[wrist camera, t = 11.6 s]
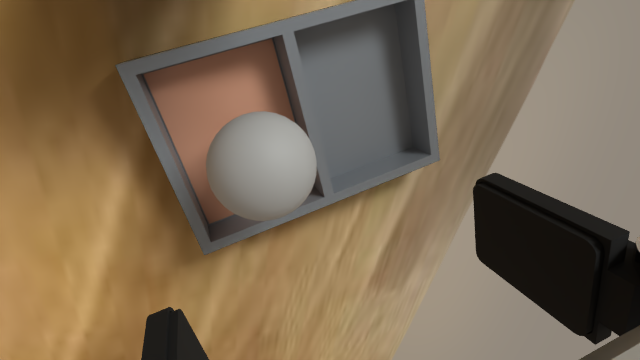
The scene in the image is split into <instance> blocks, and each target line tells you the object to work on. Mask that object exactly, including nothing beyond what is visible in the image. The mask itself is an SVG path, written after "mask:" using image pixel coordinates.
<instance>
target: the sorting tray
mask: <svg viewBox="0 0 640 360" xmlns="http://www.w3.org/2000/svg"><path fill="white" fill-rule="evenodd" d="M115 66H116V68H117V70H118V72H119V74H120V76H121V78H122V81H123V83H124V85H125V87H126V89H127V91H128V93H129V96H130V98H131V100H132V102H133V104H134V106H135V108H136V111H137V113H138V115H139V117H140V119H141V121H142V123H143V125H144V128H145V130H146V132H147V134H148V136H149V138H150V140H151V143H152V145H153V147H154V149H155V151H156V153H157V155H158V157H159V160H160V162H161V164H162V166H163V168H164V170H165V172H166V175H167V177H168V179H169V181H170V183H171V185H172V187H173V189H174V192H175V194H176V196H177V198H178V200H179V202H180V204H181V207H182V209H183V211H184V213H185V215H186V217H187V219H188V222H189V224H190V226H191V228H192V230H193V232H194V234H195V236H196V239H197V241H198V243H199V245H200V247H201V249H202V251H203V254H204V255H206V254H209V253H211V252H214V251H216V250H219V249H221V248H223V247H226V246H228V245H231V244H233V243H236V242H238V241H241V240H243V239H246V238H248V237H251V236H253V235H256V234H258V233H261V232H263V231H266V230H268V229H271V228H273V227H275V226H278V225H280V224H283V223H285V222H288V221H290V220H293V219H295V218H298V217H300V216H303V215H305V214H308V213H310V212H313V211H315V210H318V209H320V208H323V207H325V206H328V205H330V204H332V203H335V202H337V201H340V200H342V199H345V198H347V197H350V196H352V195H355V194H357V193H360V192H362V191H365V190H367V189H370V188H372V187H375V186H377V185H380V184H382V183H385V182H387V181H389V180H392V179H394V178H397V177H399V176H402V175H404V174H407V173H409V172H412V171H414V170H417V169H419V168H422V167H424V166H427V165H429V164H432V163H434V162H437V161H439V160H440V157H439V147H438V137H437V126H436V116H435V106H434V95H433V85H432V75H431V65H430V54H429V44H428V34H427V23H426V13H425V3H424V0H354V1H350V2H347V3H343V4H339V5H335V6H332V7H328V8H324V9H320V10H317V11H313V12H309V13H305V14H302V15H298V16H294V17H290V18H287V19H283V20H279V21H275V22H272V23H268V24H264V25H260V26H257V27H253V28H249V29H245V30H242V31H238V32H234V33H230V34H227V35H223V36H219V37H215V38H212V39H208V40H204V41H200V42H197V43H193V44H189V45H185V46H182V47H178V48H174V49H170V50H167V51H163V52H159V53H155V54H152V55H148V56H144V57H140V58H137V59H133V60H129V61H125V62H122V63H120V64H117V65H115ZM261 111H266V112H272V113H277V114H279V115H282V116H285V117H286V118H288V119H290V120H291V121H293V122H295V123H296V124H297V125H298V126H299V127H300V128H301V129H302V130H304V132H305V133H306V135H307V136H308V138H309V139H310V141H311V143H312V146H313V148H314V151H315V155H316V160H317V172H316V178H315V183H314V185H313V188H312V190H311V192H310V194H309V195H308V197H307V198H306V200H305V201H304V202H303V203H302V204H301V205H300V206H299V207H298V208H297V209H295V210H294V211H293V212H291V213H289V214H288V215H286V216H284V217H281V218H278V219H275V220H268V221H255V220H250V219H246V218H243V217H241V216H238V215H236V214H234V213H232V212H231V211H230V210H228V209H227V208H225V207H224V206H223V204H222V203H221V202H220V201H219V200H218V199H217V198H216V196H215V195H214V193H213V191H212V190H211V188H210V185H209V182H208V178H207V171H206V159H207V153H208V150H209V147H210V144H211V142H212V141H213V139H214V137H215V135H216V134H217V133H218V132H219V131H220V130H221V128H222V127H223V126H224V125H226V124H227V123H228V122H230V121H231V120H232V119H235V118H237V117H239V116H241V115H243V114H247V113H251V112H261Z"/></svg>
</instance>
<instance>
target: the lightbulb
mask: <svg viewBox="0 0 640 360" xmlns="http://www.w3.org/2000/svg"><path fill="white" fill-rule="evenodd" d="M206 171H207V178H208V182H209V185H210V188H211V190H212V191H213V193H214V195H215V196H216V198H217V199H218V200H219V201H220V202H221V203H222V204H223V206H224V207H225V208H227V209H228V210H230V211H231V212H232V213H234V214H236V215H238V216H241V217H243V218H246V219H250V220H255V221H268V220H275V219H278V218H281V217H284V216H286V215H288V214H289V213H291V212H293V211H294V210H295V209H297V208H298V207H299V206H300V205H301V204H302V203H303V202H304V201H305V200H306V198H307V197H308V195H309V194H310V192H311V190H312V188H313V185H314V183H315V178H316V172H317V160H316V155H315V151H314V148H313V146H312V143H311V141H310V139H309V138H308V136H307V135H306V133H305V132H304V130H302V129H301V128H300V127H299V126H298V125H297V124H296V123H295V122H293V121H291V120H290V119H288V118H286V117H285V116H282V115H279V114H277V113H272V112H266V111H261V112H251V113H247V114H243V115H241V116H239V117H237V118H235V119H232V120H231V121H230V122H228V123H227V124H226V125H224V126H223V127H222V128H221V130H220V131H219V132H218V133H217V134H216V135H215V137H214V139H213V141H212V142H211V144H210V147H209V150H208V153H207V159H206Z"/></svg>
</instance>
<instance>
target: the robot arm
mask: <svg viewBox="0 0 640 360" xmlns="http://www.w3.org/2000/svg"><path fill="white" fill-rule="evenodd" d="M473 199H474V219H475V239H476V254H477V256H478V258H479V260H480V261H481V262H482V263H484V264H485V265H486V266H487V267H489V268H490V269H491V270H493V271H494V272H495V273H496V274H498V275H499V276H500V277H502V278H503V279H504V280H506V281H507V282H508V283H510V284H511V285H512V286H514V287H515V288H516V289H517V290H519V291H520V292H521V293H523V294H524V295H525V296H526V297H528V298H529V299H531V300H532V301H533V302H534V303H536V304H537V305H538V306H540V307H541V308H542V309H544V310H545V311H546V312H547V313H549V314H550V315H551V316H553V317H554V318H555V319H557V320H558V321H559V322H560V323H562V324H563V325H564V326H566V327H567V328H568V329H570V330H571V331H572V332H574V333H575V334H577V335H579V336H585V337H586V338H587V339H589V340H590V341H591V342H592V343H594V344H597V343H599V342H601V341H602V340H604V339H606V338H608V337H609V336H611V331H613V332H614V333H616V334H617V335H619V337H618V338H616V339H614V340H613V341H611V342H609V343H607V344H606V345H604V346H602V347H600V348H598V349H597V350H595V351H593V352H592V353H590V354H588V355H586V356H584V357H583V358H581V359H579V360H640V236H639V237H638V238H637V240H636V242H635V243H634V242H631V241H629V240H628V238H629V231H627V230H625V229H622V228H620V227H618V226H616V225H613V224H611V223H609V222H607V221H604V220H602V219H600V218H598V217H595V216H593V215H591V214H588V213H586V212H584V211H582V210H579V209H577V208H575V207H573V206H570V205H568V204H566V203H563V202H561V201H559V200H557V199H554V198H552V197H550V196H548V195H545V194H543V193H541V192H539V191H536V190H534V189H532V188H530V187H527V186H525V185H523V184H521V183H518V182H516V181H514V180H511V179H509V178H507V177H505V176H502V175H500V174H498V173H492V174H490V175H487V176H485V177H483V178H480V179H478V180H477V182H476V185H475V186H474V188H473ZM141 360H209V359H208V357H207V355H206V353H205V351H204V350H203V348H202V346H201V344H200V342H199V341H198V339H197V337H196V335H195V333H194V332H193V330H192V328H191V326H190V324H189V323H188V321H187V319H186V317H185V315H184V313H183V312H182V310H181V309H178V310H175V311H174V310H173V309H172V308H171V307H168V308H166V309H163V310H161V311H159V312H156V313H154V314H151V315H149V316H148V317H147V321H146V329H145V336H144V343H143V351H142V358H141Z"/></svg>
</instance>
